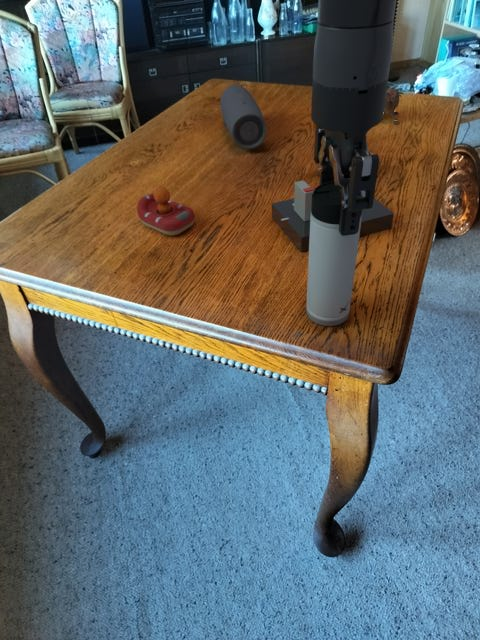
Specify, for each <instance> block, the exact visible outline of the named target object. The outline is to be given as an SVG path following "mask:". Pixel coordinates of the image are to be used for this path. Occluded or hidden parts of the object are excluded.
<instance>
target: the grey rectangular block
mask: <svg viewBox="0 0 480 640" xmlns="http://www.w3.org/2000/svg"><path fill="white" fill-rule="evenodd" d="M314 189H315V188H313V187H312V186H311V185H309V184H308V182H306V181H305V180H304V179H303V180H298V181H294V186H293V190H294V191H293V198H294V211H295V212H296V213H297V214H298V215H299V216H300V217H301V218H302V220H303V221H304V222H305V221H309V220H310V217H311V206H312V194H313V191H314Z"/></svg>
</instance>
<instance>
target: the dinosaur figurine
mask: <svg viewBox="0 0 480 640" xmlns="http://www.w3.org/2000/svg"><path fill="white" fill-rule="evenodd" d="M398 86H399V85H398V84H397V85H394V86H393V87H389V85H387V91H386V98H385V105H384V114H383V116H384V115H385V114H387V115H389V114H390V115H391V116H392V119H393V124H394V125H399V124H400V123H399V120H398V118H397V115H398V114H399V112H398V111H397V112H394V110H396V109H397V108H398V106H399V104H400V98H402V96H403V95H404V94H405V93H404V92H402V91H403V90H404V88H402V87H398ZM397 87H398V88H397ZM394 120H398V121H394Z"/></svg>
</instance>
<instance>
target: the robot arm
mask: <svg viewBox="0 0 480 640" xmlns="http://www.w3.org/2000/svg"><path fill="white" fill-rule="evenodd" d="M317 1H318V3H317V25H316V33H315V38H314V46H313V57H312V59H313V60H312V84H311V86H312V87H311V106H310V107H311V108H310V118H311V119H310V120H311V121H312V123H313V124H314V125H315V130H314V134H315V135H314V152H313V153H314V156H313V161H314V164H316V165H317V164H318V165H317V172H318V175H319V185H321V184H323V183H325V182H328V181H332V180H334V181H335V186H336V187H337V188H339V189H340V196H341V209H340V220H339V232H340V234H341V235H342V236H346V235H353V234H356V233H357V232H358V230H359V223H360V215H361V210H362V209H370V208H372V206H373V200H374V198H375V193H376V188H377V187H376V186H377V179H378V173H379V166H380V157H379V154H378V153H373V155H368V152H369V150H368V149H369V148H368V141H367V134H368V132H369V131H370V130H372V129H373V128H375V127H376V126H378V125H379V124H380V123H381V122H382V120H383V118H384V115H383V112H384V105H385V98H386V91H387V90H388V88H387V86H388V84H389V83H388V82H389V75H390V69H391V62H392V57H393V56H392V55H393V46H394V21H395V20H394V19H395V12H396V4H397V0H317ZM346 174H350V176H349V177H348V178H346V177H344V176H342V175H346ZM348 186H349V191H348V190H347V187H348ZM365 190H366V193H365Z"/></svg>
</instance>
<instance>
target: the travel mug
mask: <svg viewBox="0 0 480 640" xmlns="http://www.w3.org/2000/svg"><path fill="white" fill-rule="evenodd" d="M313 189H314V191H313V194H312V206H311V217H310V239H309V250H308V262H307V266H308V267H307V282H306V284H307V285H306V305H305V306H306V307H305V313H306V316H307V317H308V319H309V320H310V321H311V322H313V323H315V324H316V325H320V326H324V327H335V326H340V325H341V324H343V323H344V322H346V321H347V320H348V319H349V316H350V312H351V303H352V296H353V288H354V282H355V281H354V280H355V274H356V265H357V258H358V257H357V256H358V250H359V241H360V237H359V235H360V227H361V220H362V219H361V218H362V210H361V215H360V223H359V230H358V232H357V233H356V234H353V235H346V236H342V235H341V234H340V232H339V220H340V209H341V196H340V189H339V188H337V187H336V186H335V181H334V180H332V181H328V182H325V183H323V184H321V185H320V184H319V185H317V186H316V187H315V188H313ZM347 190H348V191H349V186H348V187H347ZM365 192H366V190H365Z"/></svg>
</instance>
